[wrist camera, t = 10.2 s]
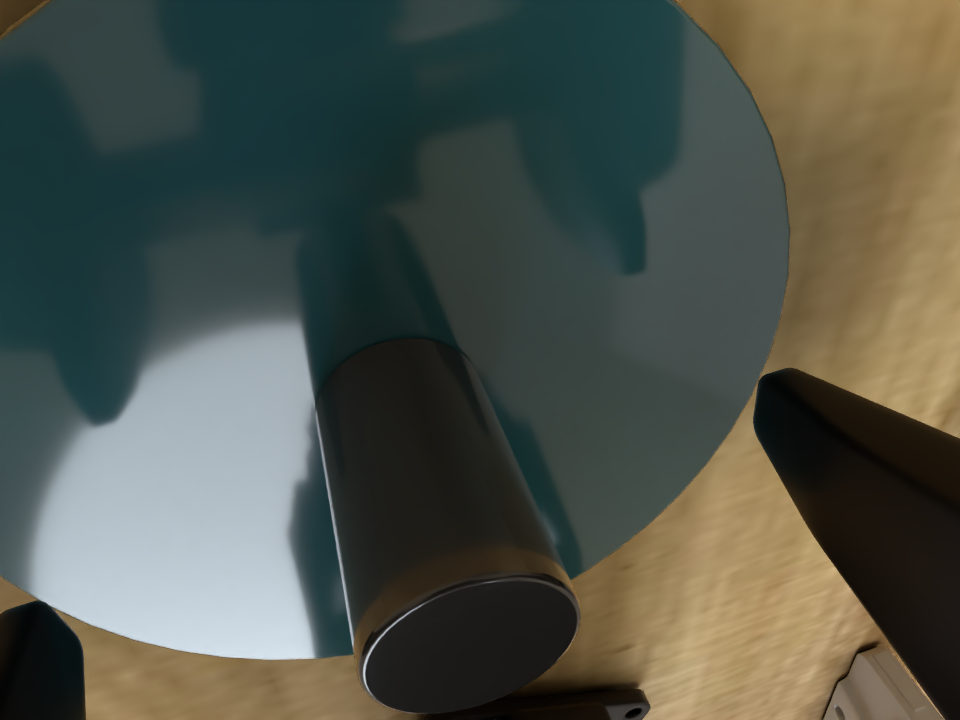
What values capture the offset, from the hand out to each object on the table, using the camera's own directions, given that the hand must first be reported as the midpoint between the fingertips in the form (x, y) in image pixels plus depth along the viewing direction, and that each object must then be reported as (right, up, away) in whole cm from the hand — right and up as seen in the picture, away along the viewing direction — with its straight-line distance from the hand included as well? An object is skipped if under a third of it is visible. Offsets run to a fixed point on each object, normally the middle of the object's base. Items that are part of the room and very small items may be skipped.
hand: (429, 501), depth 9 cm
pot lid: (-1, +1, +2) cm, 3 cm away
